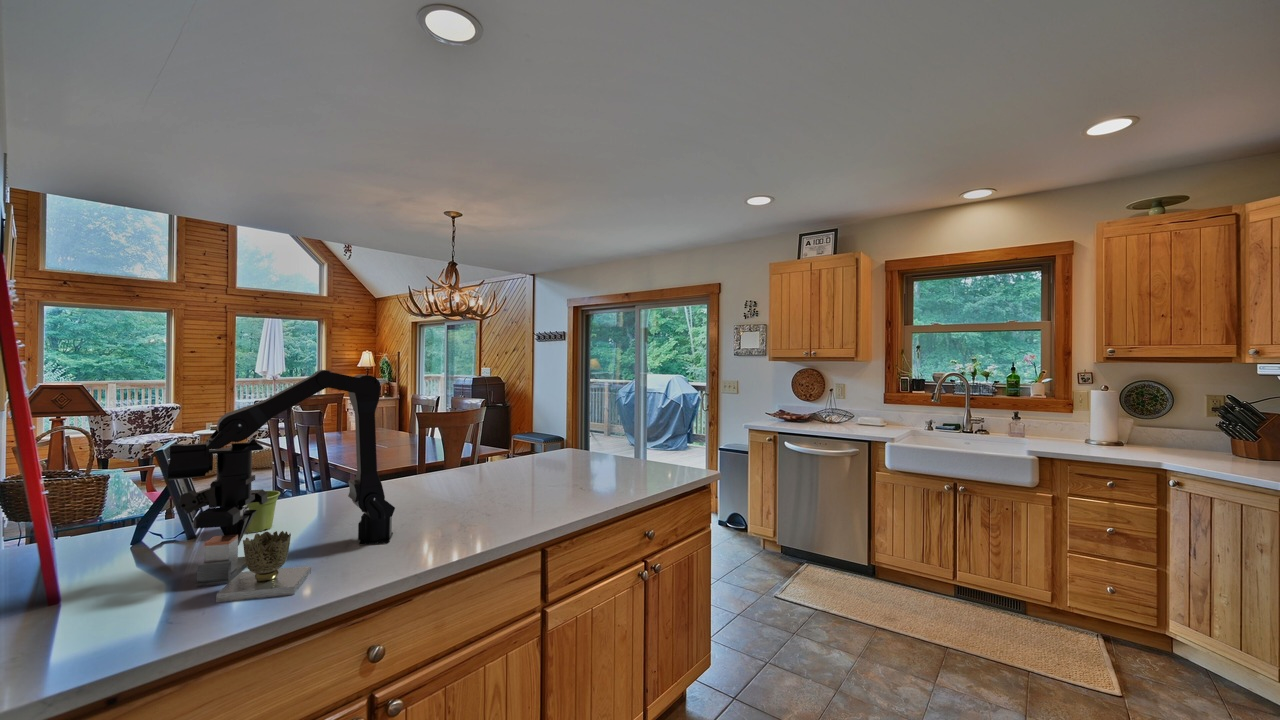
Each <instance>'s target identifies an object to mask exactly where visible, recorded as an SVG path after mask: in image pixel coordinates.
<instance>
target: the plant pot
mask: <svg viewBox="0 0 1280 720" xmlns="http://www.w3.org/2000/svg"><path fill="white" fill-rule="evenodd" d="M264 491H265V492H267V502H266V503H264V504H261V505H260V504H259V502H252V503H250V504H248V505H247V507H249V510H257V512H256V513H255V514H254V516H253V518H252V520H251V522H250V524H249V526H248V528H247V530H246V531H245V533H249V534H250V533H251V534H253V533H259V532H263V531H264V530H270V529H271V528H272V527H273V523H274V517H275V510H276V505H277V501H278V499H279V496H280V495H281V492H280V491H278V490H264Z"/></svg>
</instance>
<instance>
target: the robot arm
mask: <svg viewBox="0 0 1280 720" xmlns="http://www.w3.org/2000/svg"><path fill="white" fill-rule="evenodd" d="M328 388H329V389H333V390H337V391H338V390H339V391H343V392H347V394H348V398H349V401H350V404H351V406H352V409H353V413H354V424H355V425H354V426H355V429H354V430H355V450H356V451H355V453H356V473H355V474H356V475H355V477H354V479H349V480H348V487H349V492H348V495H347V496H348V498H349V499H351V501H352V503H353V504H354V505H355V506H356V507H357V508H358V509H359V510H360V511H361V512H362V513H363V514H362V515H361V519H360V520H359V522H358V529H357V540H358V541H359V542H358V546H361V545H363V546H365V545H377V544H386V543H387V544H389V543H390V541H391V539H392V537H393V535H394V533H393V532H392V531H393V530H392V527H393V524H392V522H393V515H394V512H395V509H396V507H395V506H394V505H392V504H391V503H390V502H388V501H387V500H386V498H385V491H384V487H383V482H382V481H381V479H380V476H379V472H378V458H377V432H376V411H377V409H378V405H379V401H380V395H381V389H382V386H381V382H380V380H379V379H377V378H376V377H375V376H372V375H369V374H356V375H354V376H352V375H347V374H342V373H339V372H338V373H337V372H333V371H330V370H327V369H320V370H318V371H315V372H314V373H313V374H311V375H309V376H307V377H306V378H304V379H302V380H299V381H298V382H296V383H294V384H292V385H290V386H288V387H287V388H285V389H283V390H281V391H279V392H277V393H276V394H274V395H271V396H270V397H268V398H266V399H263V400H262V401H260V402H257V403H253V404H250V405H246V406H244V407H243V406H242V407H241V408H238V409H236V410H235V409H234V410H231V411H229V412H226V413H224V414H223V415H222V416H220V418H219V419H218V420H217V424H216V430H215V431H214V432H213V433H212V434H211V435H210V436H209V437H207V439H206V440H205V441H204V442H203V443H186V444H182V443H173V444H172V443H171V444H170V445H169V459H168V463H167V481H173V480H176V481H177V480H184V479H185V480H186V479H193V478H195V479H196V478H204V477H206V474H209V473H210V472H213V470H214V469H213V467H214V458H213V457H214V455H215V454H216V479H215V480H213V481H212V482H210V485H209V487H207V488H205V489H202V490H199V491H195V490H190V491H188V492H184V493H181V494H180V496H179V499H178V500H177V502H178V504H177V508H178V509H180V510H183V511H184V514H185V515H188V514H190V513H193V511H196V510H198V509H201V508H204V507H206V506H208V508H206V509H205V510H203V511H200V513H198V514H197V515H196V516H195V517H194V518H193V528H194V529H207V528H208V529H210V528H220V530H221V532H222V534H223V536H224V535H238V546H239V545H240V543H241V541H242V540H243V537H244V535H245V533H246V530H247V528H248V526H249V524H250V522H251V520H252V518H253V516H254V514H255V513H256V512H257V510H249V507H247V505H248V504H250V503H252V502H259V504H260V505H261V504H264V503H266V502H267V492H265V491H266V490H264V489H260V488H259V489H252V483H253V482H254V481H256V474H253V473H252V466H253V464H252V462H253V461H252V460H253V459H252V458H253V455H252V454H253V451H263V449H264V446H263V445H262V444H261V443H259V442H257V440H256V439H255V437H251V436H252V435H253V434H254V433H256V432H257V431H259V430H260V429H261V428H263V426H265V425H266V424H267V423H268V422H269V421H270V420H272V419H273V418H274V417H276V416H278V415H279V414H281V413H283V412H285V411H287V410H288V409H290V408H292V407H294V406H296V405H297V404H299V403H301V402H303V401H305V400H306V399H309V398H310V397H312V396H314V395H316V394H318V393H319V392H321V391H323V390H325V389H328ZM250 437H251V439H250V440H248V441H246V442H243V441H245V440H247V439H248V438H250ZM229 444H230V447H226V448H225V446H227V445H229Z"/></svg>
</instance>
